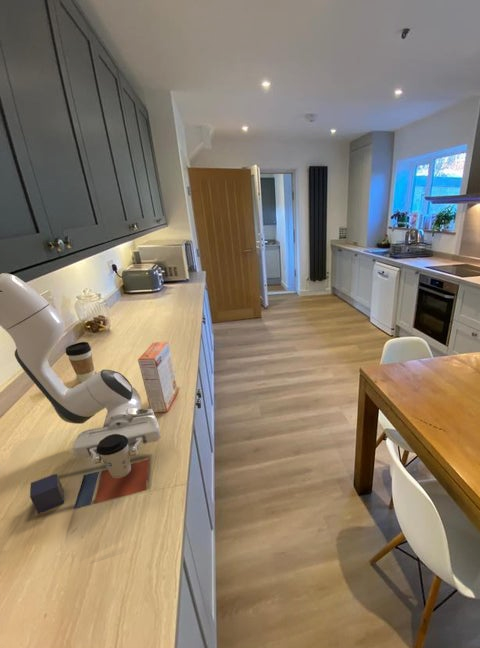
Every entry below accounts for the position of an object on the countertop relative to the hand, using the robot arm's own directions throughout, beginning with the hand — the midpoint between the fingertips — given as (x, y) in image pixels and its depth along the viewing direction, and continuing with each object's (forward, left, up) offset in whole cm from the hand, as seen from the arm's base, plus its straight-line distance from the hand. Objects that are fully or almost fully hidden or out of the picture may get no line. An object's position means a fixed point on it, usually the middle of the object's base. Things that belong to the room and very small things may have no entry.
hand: (115, 457), depth 79 cm
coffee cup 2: (0, +1, -6) cm, 6 cm away
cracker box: (+10, +37, -9) cm, 39 cm away
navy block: (-15, -1, -8) cm, 17 cm away
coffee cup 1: (-20, +67, -9) cm, 70 cm away
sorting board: (-6, +1, -9) cm, 11 cm away
